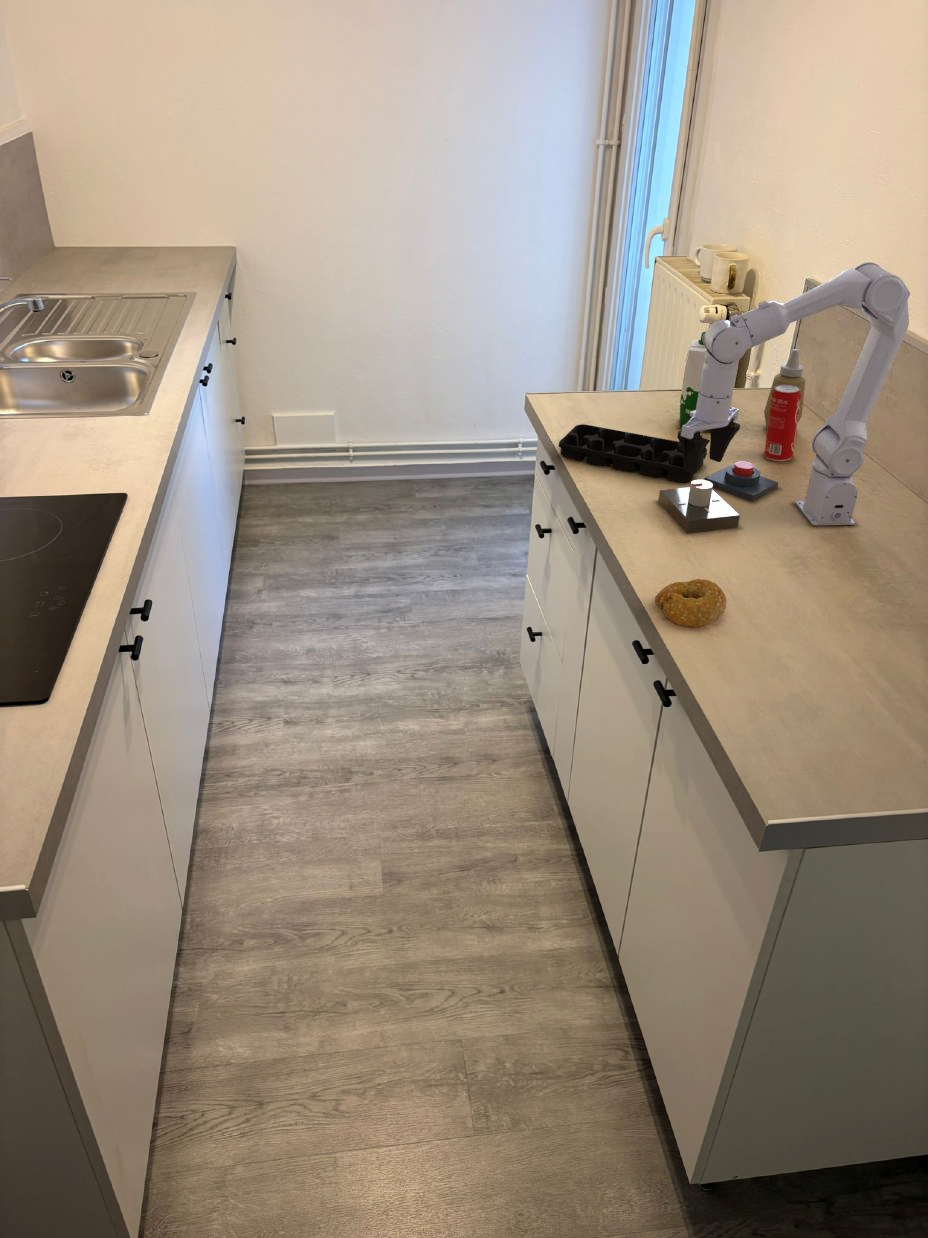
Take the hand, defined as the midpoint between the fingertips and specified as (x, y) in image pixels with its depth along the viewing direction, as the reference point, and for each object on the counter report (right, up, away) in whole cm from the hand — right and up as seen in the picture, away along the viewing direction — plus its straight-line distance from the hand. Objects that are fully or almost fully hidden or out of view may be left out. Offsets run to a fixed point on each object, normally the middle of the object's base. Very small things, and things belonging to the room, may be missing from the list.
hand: (703, 465), depth 174 cm
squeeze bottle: (+27, +14, +41) cm, 51 cm away
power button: (+11, +1, +14) cm, 18 cm away
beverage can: (+22, +6, +28) cm, 36 cm away
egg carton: (-9, +5, +25) cm, 27 cm away
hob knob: (0, -6, +3) cm, 7 cm away
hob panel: (0, -8, +5) cm, 10 cm away
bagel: (-8, -27, -24) cm, 37 cm away
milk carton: (+9, +16, +43) cm, 46 cm away
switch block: (+11, -2, +16) cm, 19 cm away
